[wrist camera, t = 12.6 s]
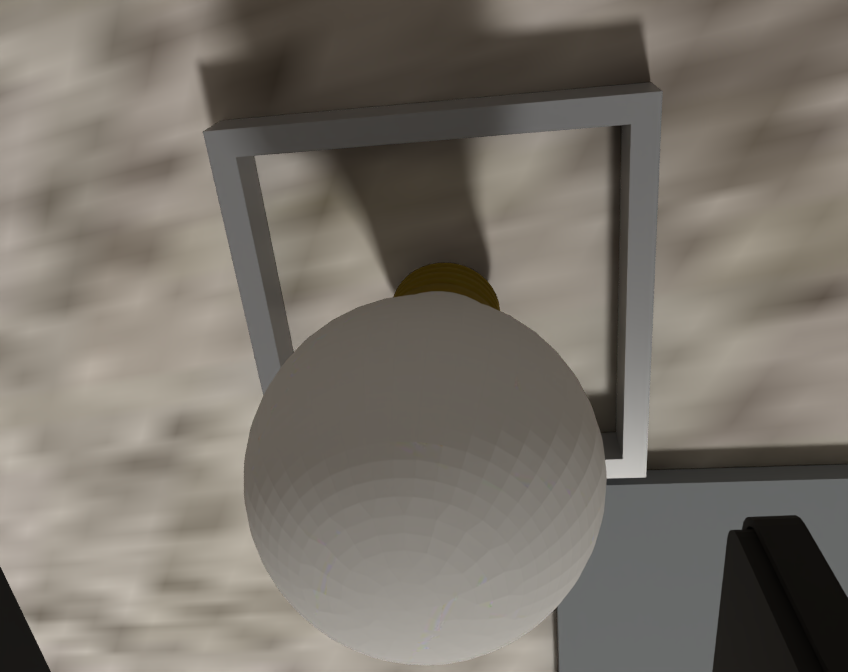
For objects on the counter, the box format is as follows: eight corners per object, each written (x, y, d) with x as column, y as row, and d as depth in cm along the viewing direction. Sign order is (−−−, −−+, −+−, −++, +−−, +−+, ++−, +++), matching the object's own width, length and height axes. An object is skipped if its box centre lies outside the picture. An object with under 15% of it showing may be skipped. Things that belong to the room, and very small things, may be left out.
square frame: (651, 82, 16) (662, 91, 15) (638, 450, 20) (646, 477, 19) (220, 120, 17) (203, 131, 16) (294, 461, 21) (284, 487, 20)
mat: (895, 462, 20) (907, 476, 19) (844, 691, 24) (852, 708, 23) (553, 473, 21) (554, 486, 20) (558, 690, 25) (560, 706, 24)
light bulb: (581, 190, 17) (677, 443, 8) (552, 406, 20) (601, 772, 11) (327, 176, 17) (159, 405, 9) (333, 391, 20) (209, 733, 11)
